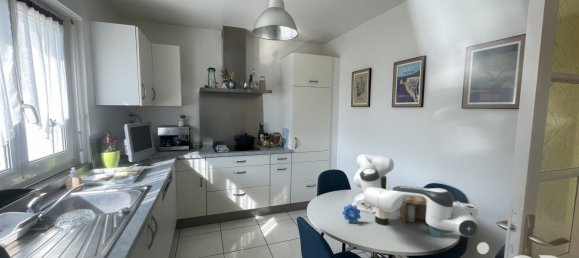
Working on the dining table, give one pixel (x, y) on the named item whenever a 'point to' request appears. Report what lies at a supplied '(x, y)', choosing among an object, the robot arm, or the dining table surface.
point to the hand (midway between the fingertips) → (445, 201)
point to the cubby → (419, 207)
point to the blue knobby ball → (351, 213)
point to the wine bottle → (381, 215)
